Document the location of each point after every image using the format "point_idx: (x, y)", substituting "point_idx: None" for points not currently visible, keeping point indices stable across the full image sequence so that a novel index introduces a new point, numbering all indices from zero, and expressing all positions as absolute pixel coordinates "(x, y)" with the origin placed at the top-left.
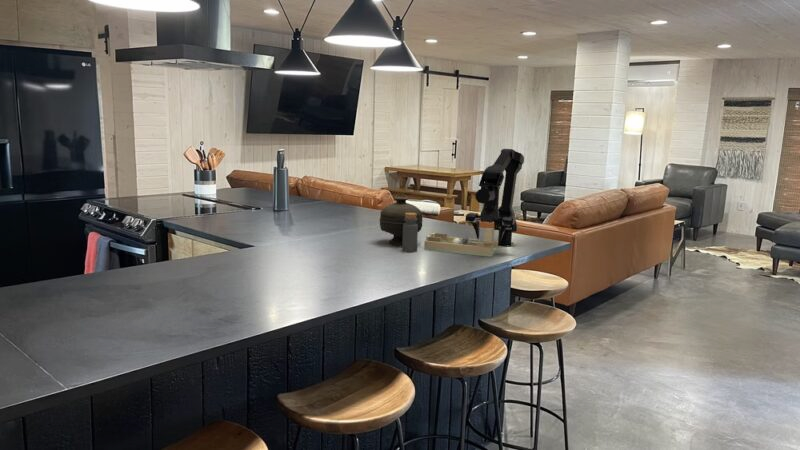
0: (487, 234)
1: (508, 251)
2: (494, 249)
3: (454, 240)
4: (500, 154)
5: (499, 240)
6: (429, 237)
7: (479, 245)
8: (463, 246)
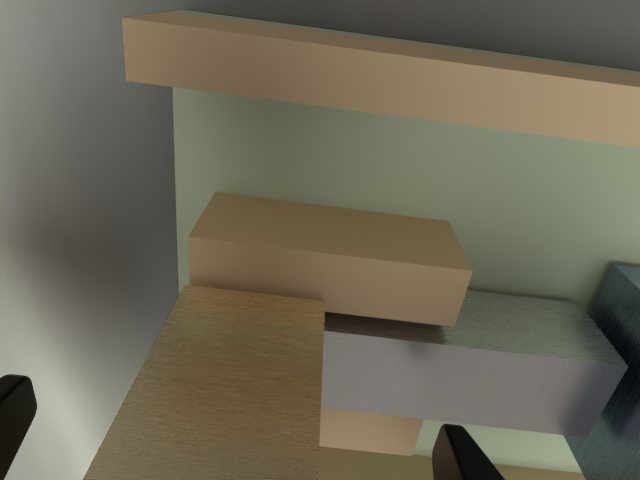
0: (229, 464)
1: (70, 405)
2: None
3: None
4: None
5: (8, 382)
6: None
7: (401, 257)
8: None
